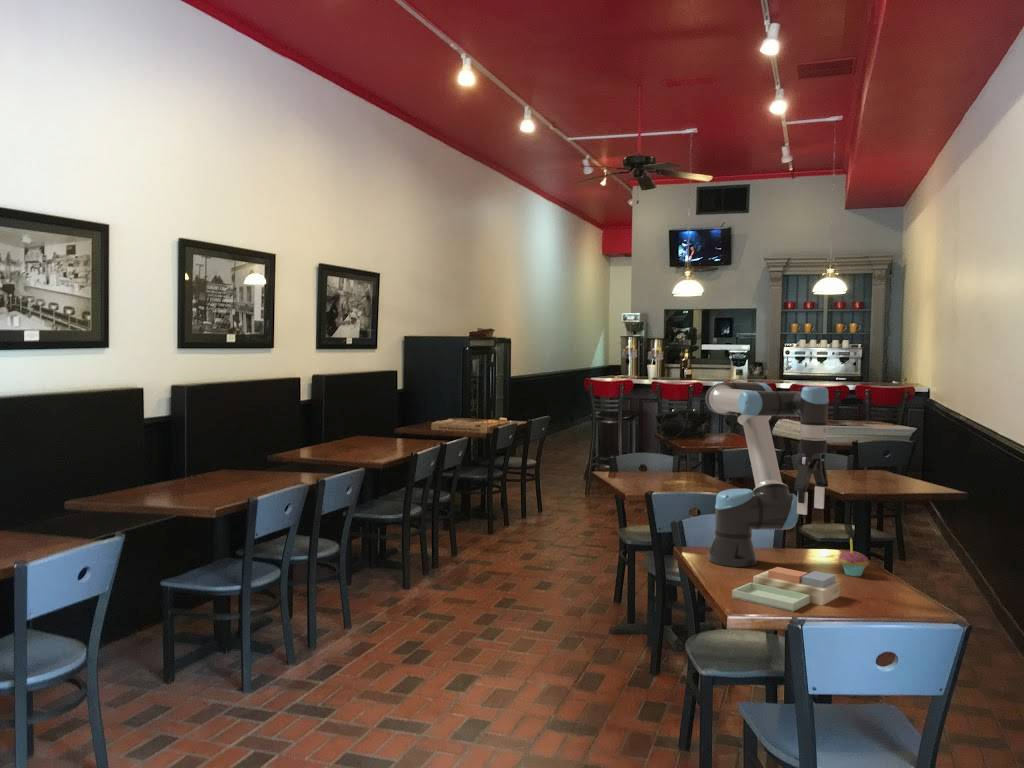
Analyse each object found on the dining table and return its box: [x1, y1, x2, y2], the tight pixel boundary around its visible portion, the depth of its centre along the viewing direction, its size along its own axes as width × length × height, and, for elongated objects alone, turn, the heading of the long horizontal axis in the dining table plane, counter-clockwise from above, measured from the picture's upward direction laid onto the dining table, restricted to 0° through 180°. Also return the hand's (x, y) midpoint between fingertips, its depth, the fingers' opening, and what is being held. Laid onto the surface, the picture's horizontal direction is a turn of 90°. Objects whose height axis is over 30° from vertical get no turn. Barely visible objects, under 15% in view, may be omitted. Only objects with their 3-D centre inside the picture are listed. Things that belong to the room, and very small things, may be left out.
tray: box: [731, 582, 811, 613], centre depth 226 cm, size 17×11×2 cm, turn 48°
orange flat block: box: [767, 566, 809, 584], centre depth 234 cm, size 9×6×2 cm, turn 48°
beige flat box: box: [752, 568, 840, 606], centre depth 233 cm, size 20×12×4 cm, turn 48°
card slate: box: [802, 570, 837, 588], centre depth 230 cm, size 9×6×2 cm, turn 138°
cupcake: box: [838, 538, 869, 577], centre depth 256 cm, size 9×8×12 cm
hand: (810, 511), depth 244 cm, fingers open, 12 cm apart
